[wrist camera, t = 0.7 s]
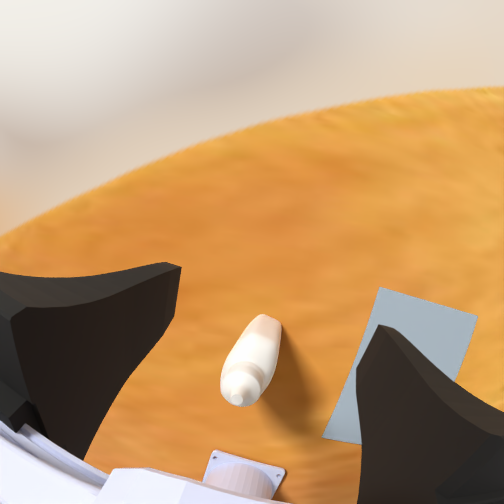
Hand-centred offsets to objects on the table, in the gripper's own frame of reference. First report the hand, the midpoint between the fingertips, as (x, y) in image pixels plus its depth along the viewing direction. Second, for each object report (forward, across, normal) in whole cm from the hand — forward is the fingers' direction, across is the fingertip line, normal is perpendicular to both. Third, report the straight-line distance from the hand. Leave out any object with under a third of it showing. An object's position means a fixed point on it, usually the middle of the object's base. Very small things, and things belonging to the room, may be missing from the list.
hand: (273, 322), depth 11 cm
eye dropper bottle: (+15, 0, +11) cm, 18 cm away
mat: (+14, -15, +11) cm, 23 cm away
